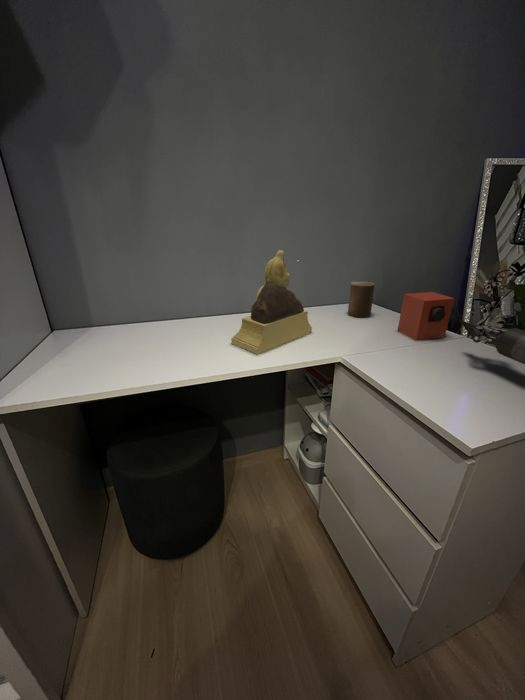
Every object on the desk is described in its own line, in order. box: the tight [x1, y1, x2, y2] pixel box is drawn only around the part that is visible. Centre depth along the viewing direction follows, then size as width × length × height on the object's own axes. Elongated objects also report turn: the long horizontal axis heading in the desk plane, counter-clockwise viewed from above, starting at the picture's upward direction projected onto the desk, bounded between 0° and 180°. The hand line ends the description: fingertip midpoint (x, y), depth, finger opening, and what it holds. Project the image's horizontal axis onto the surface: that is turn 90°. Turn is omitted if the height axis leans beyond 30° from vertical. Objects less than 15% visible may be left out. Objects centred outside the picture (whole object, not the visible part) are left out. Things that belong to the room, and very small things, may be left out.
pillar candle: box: [347, 280, 376, 319], centre depth 128 cm, size 10×10×15 cm
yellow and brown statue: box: [230, 249, 313, 355], centre depth 101 cm, size 28×13×30 cm, turn 134°
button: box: [430, 308, 445, 322], centre depth 101 cm, size 2×4×4 cm, turn 104°
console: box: [397, 291, 455, 341], centre depth 107 cm, size 10×12×14 cm
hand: (467, 325), depth 90 cm, fingers closed
